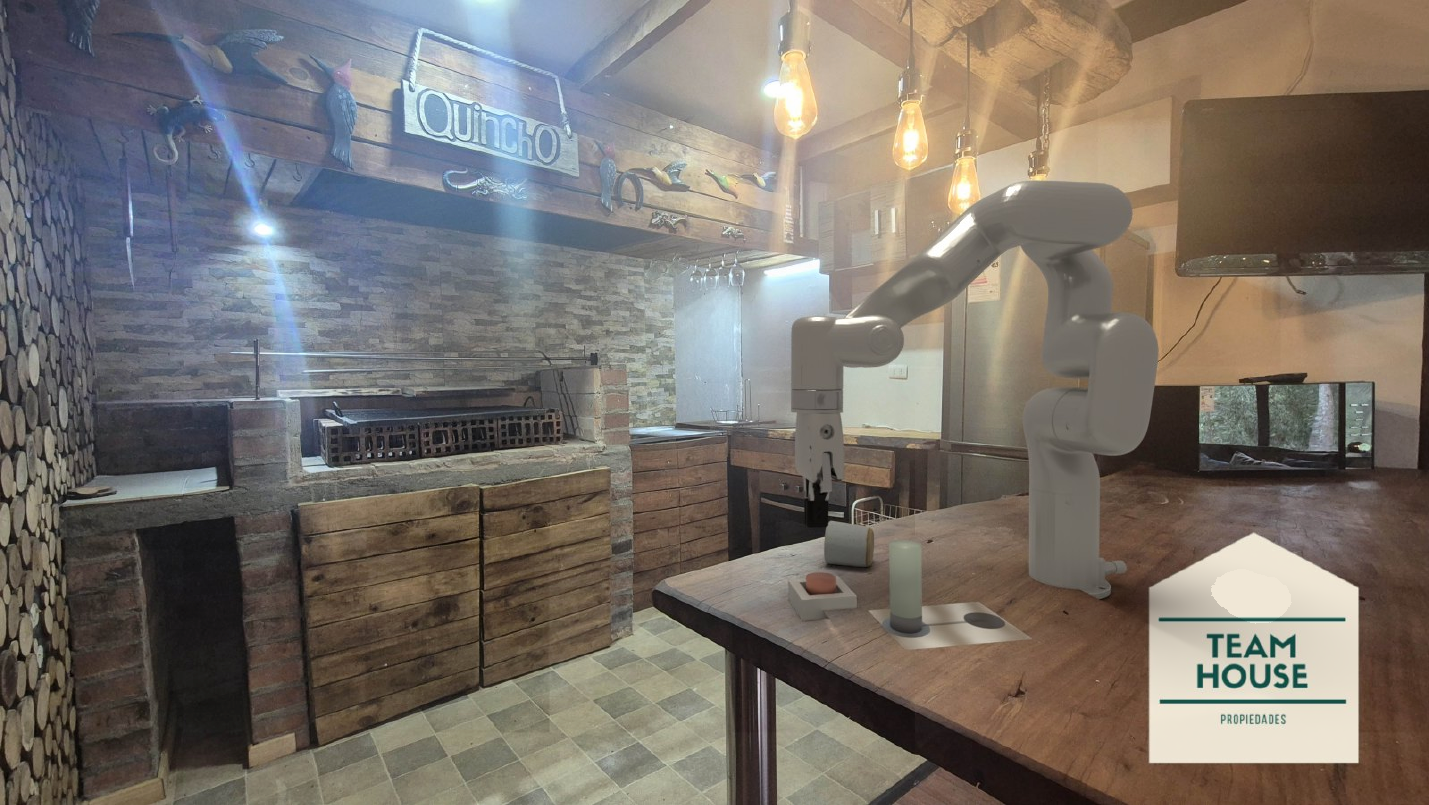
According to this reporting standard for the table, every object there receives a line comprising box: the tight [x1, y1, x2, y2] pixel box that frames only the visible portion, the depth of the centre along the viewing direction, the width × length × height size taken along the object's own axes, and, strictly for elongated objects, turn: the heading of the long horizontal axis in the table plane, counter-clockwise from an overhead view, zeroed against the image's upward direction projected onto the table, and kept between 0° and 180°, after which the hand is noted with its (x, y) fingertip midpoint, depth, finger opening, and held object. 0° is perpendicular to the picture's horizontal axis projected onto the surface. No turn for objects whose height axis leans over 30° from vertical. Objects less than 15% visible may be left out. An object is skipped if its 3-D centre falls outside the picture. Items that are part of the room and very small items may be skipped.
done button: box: [805, 571, 836, 595], centre depth 84 cm, size 4×4×2 cm
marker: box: [888, 539, 923, 634], centre depth 74 cm, size 4×4×11 cm
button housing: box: [787, 575, 858, 622], centre depth 85 cm, size 8×8×3 cm
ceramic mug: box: [823, 520, 875, 568], centre depth 104 cm, size 11×8×8 cm
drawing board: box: [868, 601, 1033, 651], centre depth 75 cm, size 18×13×1 cm
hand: (816, 525), depth 84 cm, fingers closed
